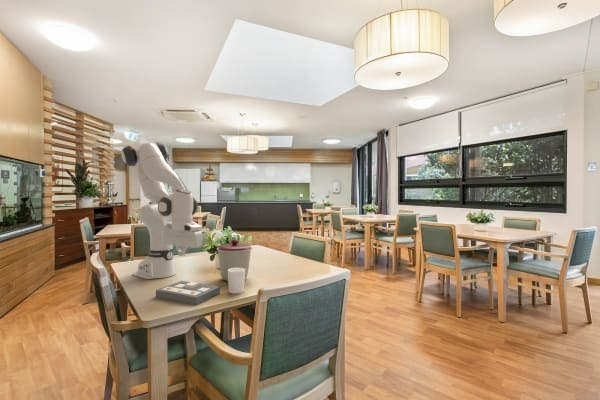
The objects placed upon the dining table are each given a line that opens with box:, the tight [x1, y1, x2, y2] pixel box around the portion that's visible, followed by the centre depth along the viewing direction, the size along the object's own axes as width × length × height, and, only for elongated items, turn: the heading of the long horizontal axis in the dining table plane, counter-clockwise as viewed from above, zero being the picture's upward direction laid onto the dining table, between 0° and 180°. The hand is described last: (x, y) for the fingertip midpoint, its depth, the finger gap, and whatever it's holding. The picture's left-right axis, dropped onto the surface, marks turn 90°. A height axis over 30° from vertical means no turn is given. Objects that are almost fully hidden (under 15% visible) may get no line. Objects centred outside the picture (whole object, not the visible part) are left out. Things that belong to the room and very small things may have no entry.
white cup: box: [227, 268, 246, 295], centre depth 135 cm, size 8×8×10 cm
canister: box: [216, 238, 253, 282], centre depth 154 cm, size 18×18×21 cm
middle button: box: [185, 281, 200, 289], centre depth 130 cm, size 4×4×2 cm
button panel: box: [155, 280, 221, 306], centre depth 128 cm, size 22×15×3 cm
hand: (181, 255), depth 133 cm, fingers closed
